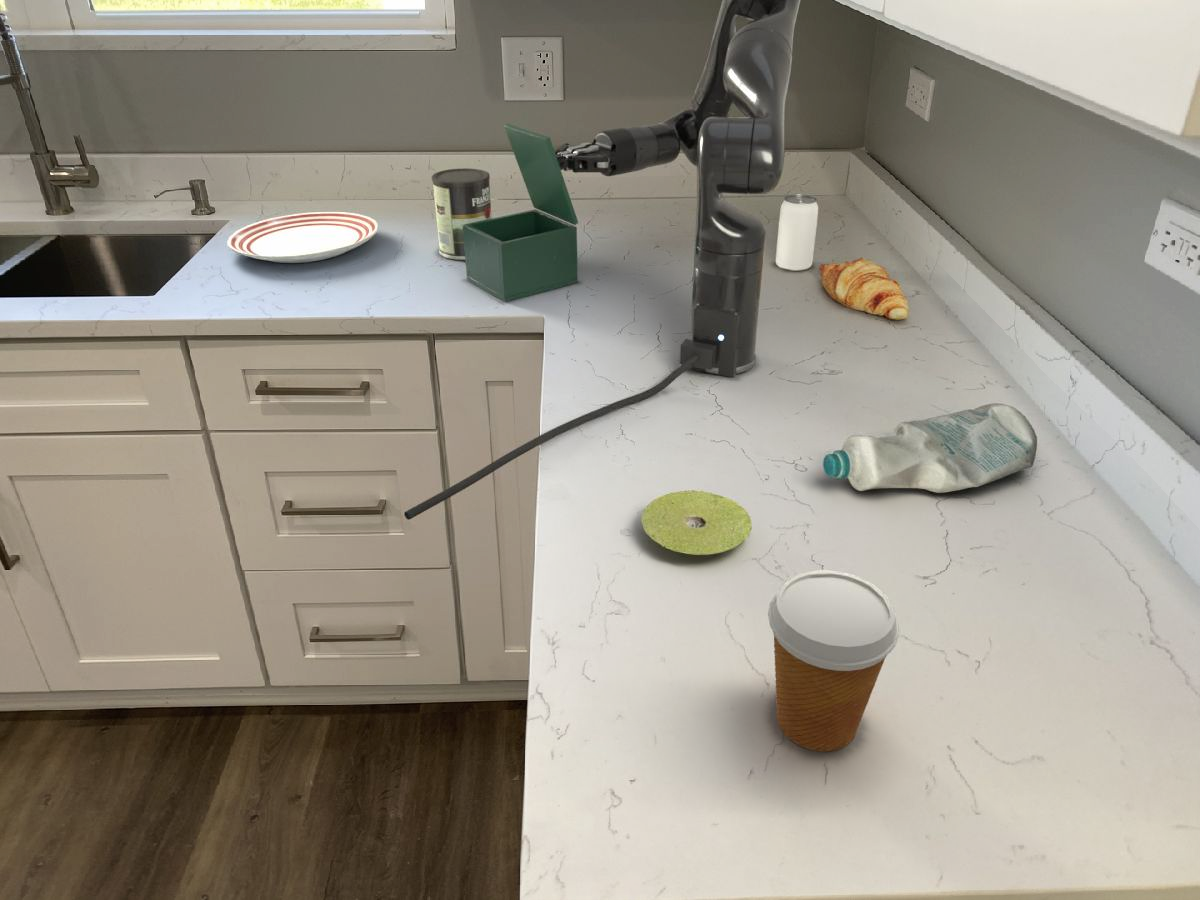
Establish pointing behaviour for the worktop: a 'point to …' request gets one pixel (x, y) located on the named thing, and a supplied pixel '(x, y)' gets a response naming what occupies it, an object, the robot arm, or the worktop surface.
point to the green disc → (696, 522)
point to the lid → (541, 173)
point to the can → (797, 232)
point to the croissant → (865, 288)
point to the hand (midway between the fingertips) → (541, 165)
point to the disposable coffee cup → (828, 654)
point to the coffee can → (459, 206)
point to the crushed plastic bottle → (939, 452)
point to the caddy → (520, 254)
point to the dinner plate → (303, 236)
